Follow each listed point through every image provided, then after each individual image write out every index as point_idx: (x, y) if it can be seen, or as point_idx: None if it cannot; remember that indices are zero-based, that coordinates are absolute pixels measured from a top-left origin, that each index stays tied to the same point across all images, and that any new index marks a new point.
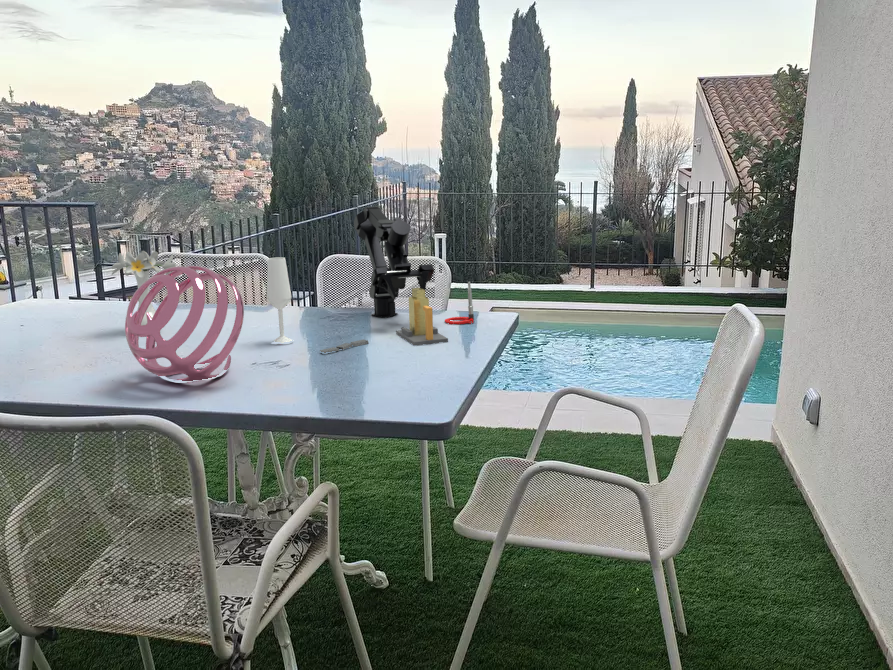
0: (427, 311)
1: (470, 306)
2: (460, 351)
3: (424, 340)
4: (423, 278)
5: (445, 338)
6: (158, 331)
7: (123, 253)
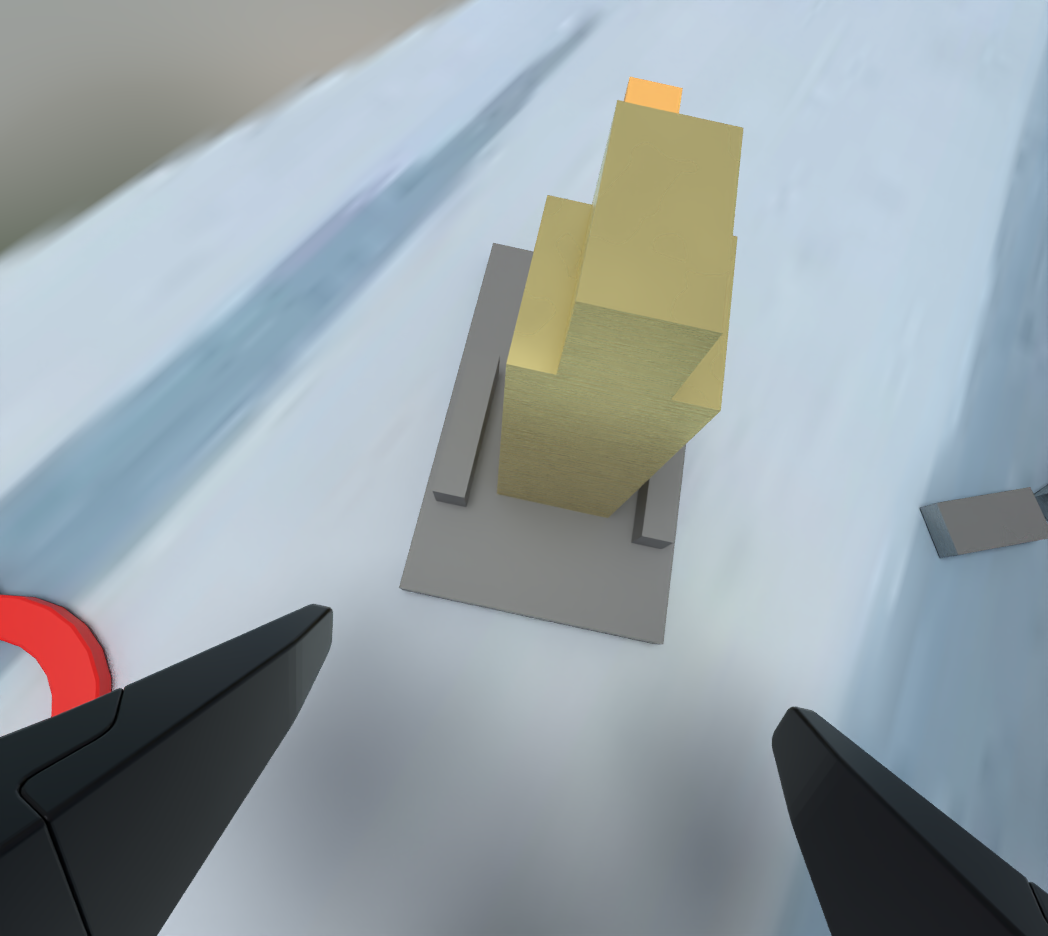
0: None
1: None
2: (554, 98)
3: None
4: (36, 796)
5: (505, 251)
6: None
7: None
